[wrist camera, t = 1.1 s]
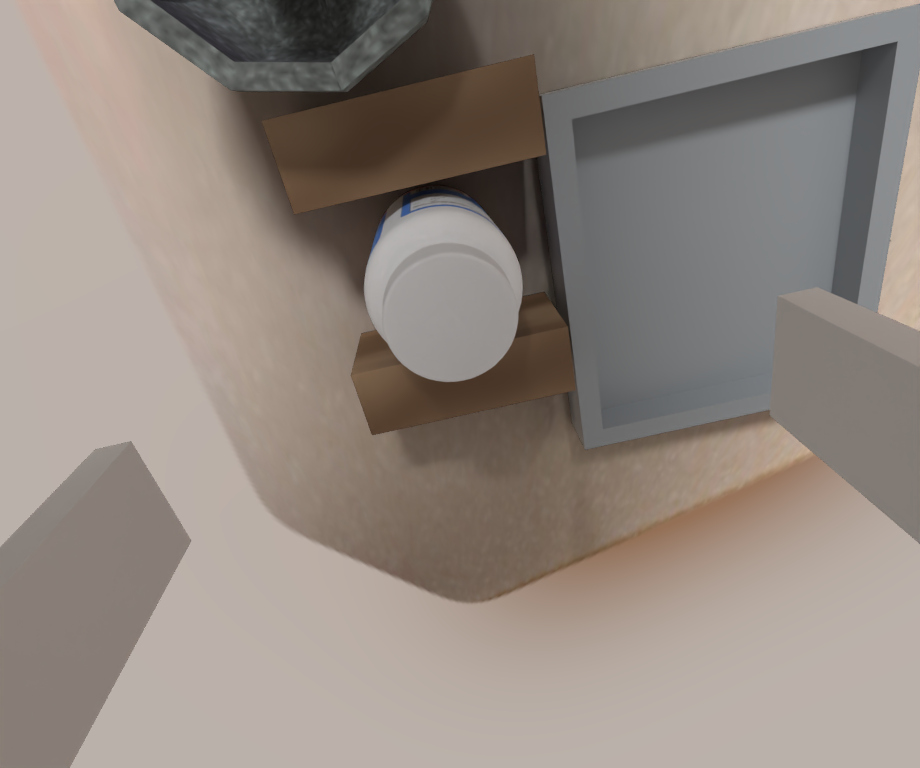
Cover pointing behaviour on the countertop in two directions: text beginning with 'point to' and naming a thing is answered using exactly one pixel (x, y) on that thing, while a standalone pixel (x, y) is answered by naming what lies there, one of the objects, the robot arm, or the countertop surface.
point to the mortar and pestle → (282, 38)
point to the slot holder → (418, 162)
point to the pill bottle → (443, 285)
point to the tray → (719, 213)
